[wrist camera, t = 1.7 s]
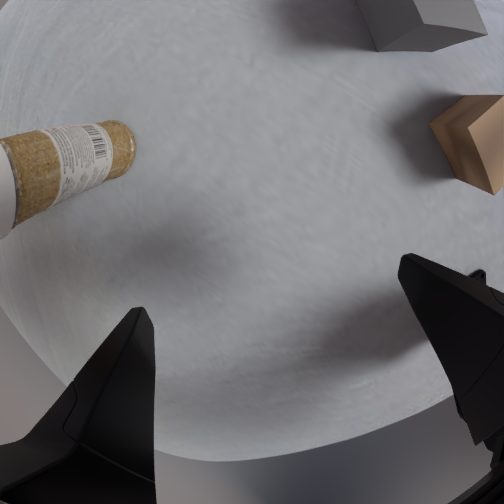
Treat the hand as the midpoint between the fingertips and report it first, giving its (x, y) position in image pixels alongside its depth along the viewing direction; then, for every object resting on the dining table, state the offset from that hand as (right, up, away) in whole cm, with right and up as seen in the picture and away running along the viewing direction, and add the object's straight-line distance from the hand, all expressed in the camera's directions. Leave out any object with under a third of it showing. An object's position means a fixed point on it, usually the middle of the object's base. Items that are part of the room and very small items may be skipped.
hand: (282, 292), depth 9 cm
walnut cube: (+15, +10, +6) cm, 20 cm away
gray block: (+9, +18, +3) cm, 20 cm away
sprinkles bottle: (-11, +9, +9) cm, 17 cm away
